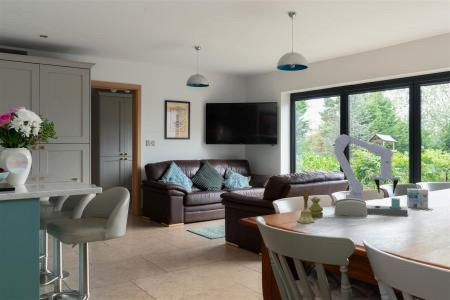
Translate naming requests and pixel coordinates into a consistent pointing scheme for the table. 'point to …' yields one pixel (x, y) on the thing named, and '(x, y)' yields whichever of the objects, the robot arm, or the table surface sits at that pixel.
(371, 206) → the bore plate
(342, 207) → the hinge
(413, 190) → the light bulb box
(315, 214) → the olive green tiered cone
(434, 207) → the table surface
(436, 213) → the table surface
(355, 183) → the robot arm
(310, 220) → the hand bell
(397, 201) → the square peg
